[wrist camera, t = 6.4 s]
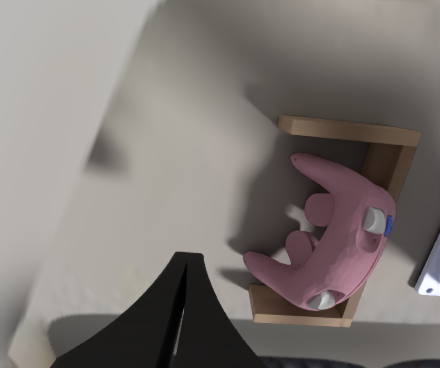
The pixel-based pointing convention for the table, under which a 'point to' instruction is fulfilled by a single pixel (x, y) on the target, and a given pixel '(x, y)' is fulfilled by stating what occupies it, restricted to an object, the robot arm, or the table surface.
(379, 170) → the docking cradle
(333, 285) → the video game controller
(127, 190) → the table surface
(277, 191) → the table surface
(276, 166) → the table surface
